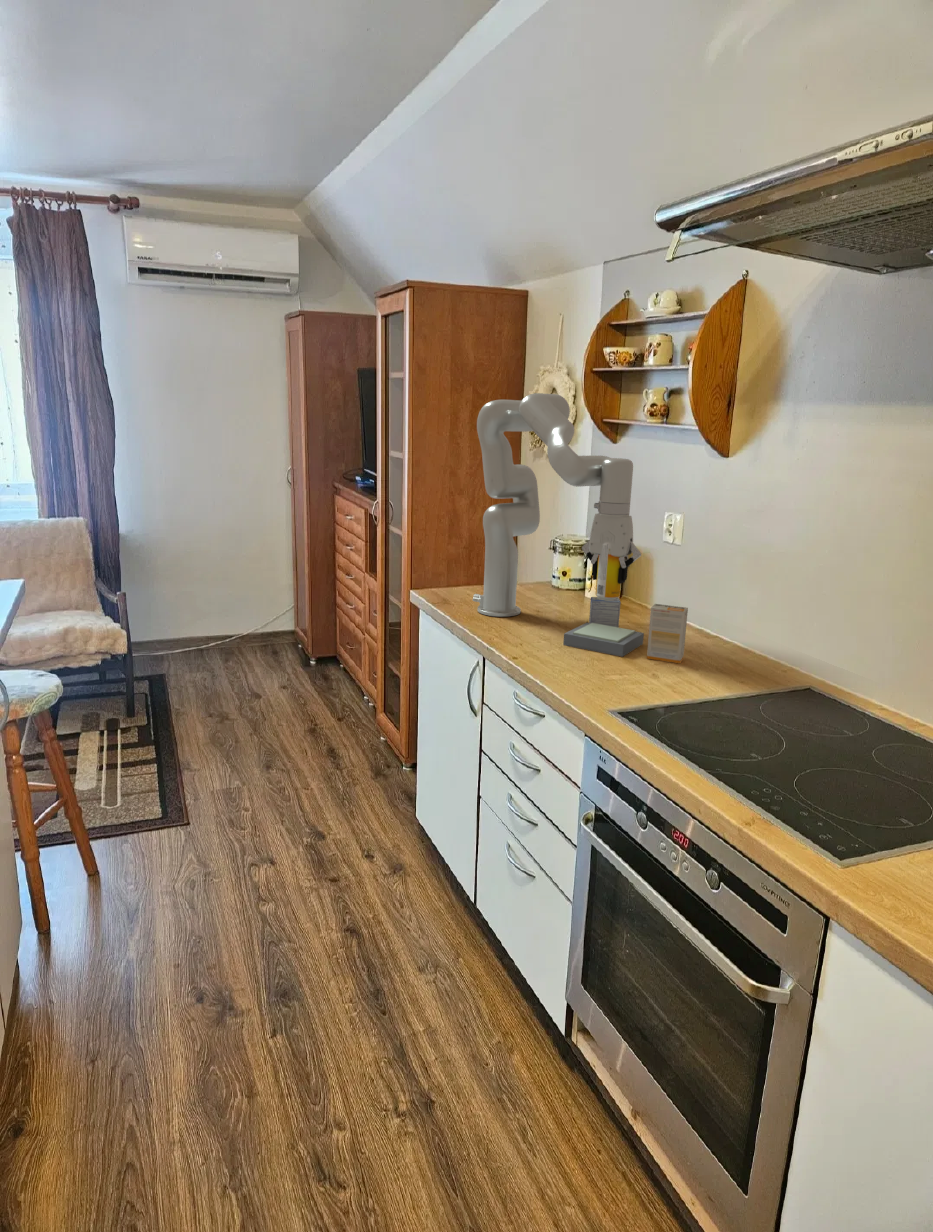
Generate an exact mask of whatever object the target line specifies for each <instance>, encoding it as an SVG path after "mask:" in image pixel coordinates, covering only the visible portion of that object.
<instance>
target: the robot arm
mask: <svg viewBox="0 0 933 1232" xmlns="http://www.w3.org/2000/svg"><path fill="white" fill-rule="evenodd" d="M570 413H571V408H570V405H569V402H568V401H567V399H566V398H565V397H564V396H562V395H560V394H557V393H543V392H542V393H540V392H539V393H538V392H536V393H530V394H528V395H526V396H524V397H523V398H522V399H520V400H516V399H496V400H491V401H489V402H487V403H485V404H484V405H483V406H482V407H481V409H480V410H479V412H478V416H477V419H476V431H477V432H476V433H477V435H478V436H477V437H478V440H479V444H480V449H481V455H482V456H481V457H482V459H481V460H482V469H483V477H484V478H483V479H484V487H485V491H486V494H487V495H488V496H489V497H490V498H491V499H497V500H498V499H502V500H503V499H512V502H506V503H505V502H503V503H497V504H492V505H491V506H489V507H488V508H487V509H486V510H485V511H484V513H483V516H482V528H483V534H484V545H485V546H484V548H485V549H484V551H485V552H484V570H483V571H484V573H483V575H484V576H483V594H479V593H474V594H473V596H472V602H476V603H479V605H478V606H477V612H478V613H480V614H481V615H485V616H489V617H501V618H505V617H506V618H508V617H514V616H518V615H520V614H521V611H522V610H521V607H519V606H518V605H517V602H516V601H517V584H518V565H519V564H518V563H519V550H518V547H517V544H516V541H515V540H514V537H519V536H528V535H531V534H534V533H535V532H536V531H537V530H538V528H539V525H540V522H541V521H540V520H541V513H540V501H539V500H540V499H539V491H538V490H539V489H538V487H539V486H538V479H537V477H536V475H535V473H534V471H533V469H532V468H531V467H529V466H527V465H525V464H514V459H513V451H512V450H513V449H512V446H511V444H510V442H509V439H508V438H507V437H506V436H505V434H504V433H505V432H523V433H524V432H534V433H535V435H536V436H537V437H538V438H539V439H540V440H541V441H542V442H543V444H545V445H546V446H547V449H546V452H547V457H548V462H549V464H550V466H551V468H552V470H554V472H555V473H557V475H558V476H559V478H561V480H563V481H564V482H565V483H566V484H568V485H570V486H573V487H577V488H578V487H599V489H600V490H599V501H598V502H595V503H594V504H593V508H594V509H597V513H595V514H594V517H593V519H592V520H593V521H592V524H591V525H592V526H591V530H590V536H589V540H588V541H587V542H586V543H584V545H582V547H581V550H582V552H583V553H584V554H585V555H586V558H588V560H589V561H590V564H591V565H592V566H591V576H592V580H593V581H597V567H598V555H600V554H602V545H603V544H604V543H605V542H609V543H611V544H610V545H612V551H611V555H612V556H614V557H619V560H620V564H621V568H619V573H618V583H619V584H621V585H622V584H623V583H626V581H627V579H628V578H627V577H628V568H629V567H630V566H631V565H632V564H633V563H634V562H635V561H637V559H639V558H641V556H642V553H641V551H640V550H639V549H638V547H637V546H636V545H635V543H634V526H633V524H634V523H633V517H632V515H630V509H631V499H632V487H633V486H632V485H633V474H634V463H633V461H632V460H631V459H629V458H620V457H618V458H617V457H609V456H606V455H578V454H577V453H576V452H575V451H574V450H573V449H572V448H571V447H570V446H569V443H570V442H571V441H572V439H573V437H574V434H575V426H574V424H573V423H572V422H571V421H570V420H569V418H570ZM631 554H632V555H631ZM629 555H631V557H629Z"/></svg>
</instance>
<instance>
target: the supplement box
mask: <svg viewBox="0 0 933 1232" xmlns="http://www.w3.org/2000/svg"><path fill="white" fill-rule="evenodd" d="M688 611H689V607H684V606H675V605H667V604H659V603H654V604H653V605H651V607H650V616H649V627H648V629H649V630H648V641H647V651H646V659H647V660H654V661H662V662H668V663H674V664H681V662H682V661H683V660H684V653H685V644H686V634H687V632H686V631H687V624H688V623H687V621H688V613H689V612H688Z"/></svg>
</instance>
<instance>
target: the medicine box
mask: <svg viewBox="0 0 933 1232" xmlns="http://www.w3.org/2000/svg"><path fill="white" fill-rule="evenodd" d="M621 605H622V602H621V600H620V598H619V597H618V599H617V600H602V599H598V598H597V596H591V597H590V603H589V619H588V623H596V624H602V625H607V626H613V627H618V628H620V627H619V626H620V625H619V624H620V614H621Z"/></svg>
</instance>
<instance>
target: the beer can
mask: <svg viewBox="0 0 933 1232" xmlns="http://www.w3.org/2000/svg"><path fill="white" fill-rule="evenodd" d="M610 544H611V543H609V542H605V543H604V544H603V545H602V554H600V555H598V567H597V580H595V581H596V582H595V584H596V585H595V597H597V598H598V599H602V600H617V599H618V598H619V597H620V596H621V585H622V583H621V584H619V583H618V573H619V568H621V564H620V560H619V557H614V556H612V555H611V551H612V545H610Z"/></svg>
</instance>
